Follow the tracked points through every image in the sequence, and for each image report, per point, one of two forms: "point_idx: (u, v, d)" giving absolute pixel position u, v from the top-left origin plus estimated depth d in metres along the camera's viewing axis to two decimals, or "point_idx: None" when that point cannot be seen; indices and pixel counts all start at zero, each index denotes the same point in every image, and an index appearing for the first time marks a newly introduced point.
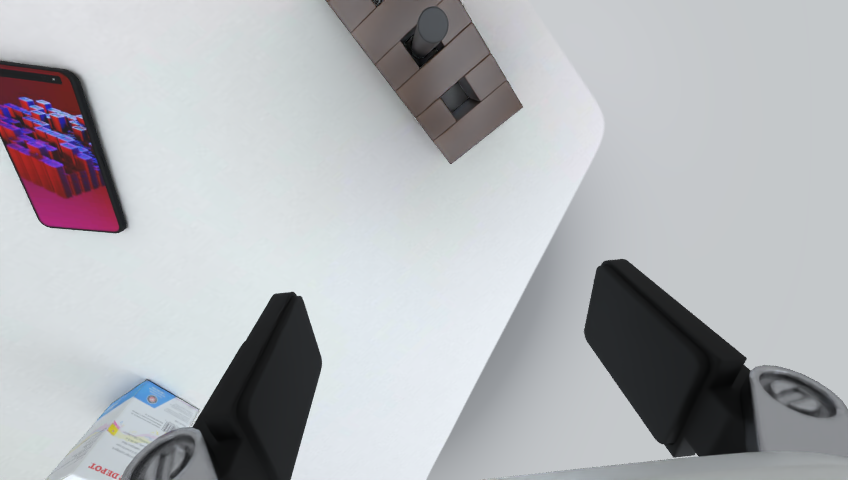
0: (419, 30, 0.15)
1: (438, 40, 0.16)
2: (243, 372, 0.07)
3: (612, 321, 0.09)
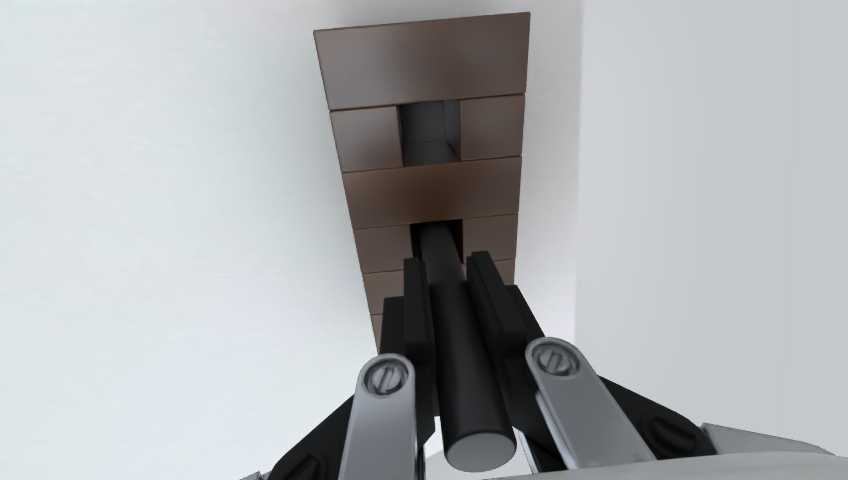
0: (448, 448, 0.06)
1: (472, 471, 0.07)
2: (417, 313, 0.08)
3: None
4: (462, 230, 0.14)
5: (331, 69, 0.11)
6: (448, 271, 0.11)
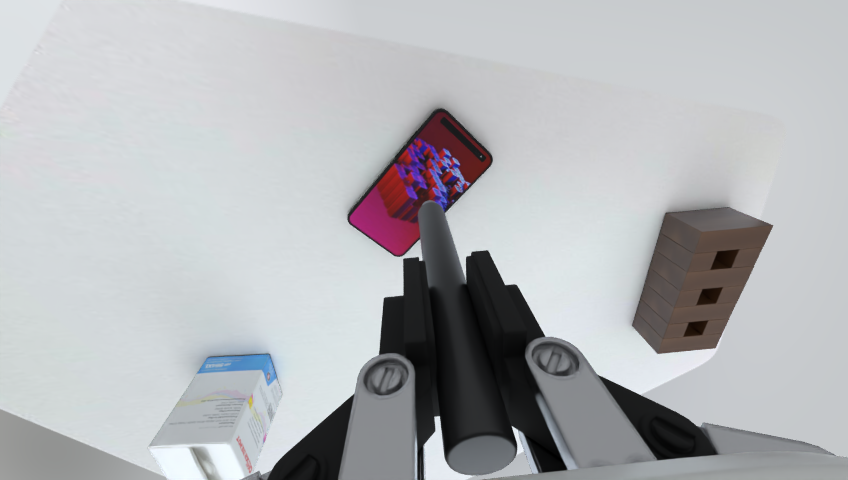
0: (449, 451, 0.06)
1: (473, 474, 0.07)
2: (418, 313, 0.08)
3: None
4: (720, 291, 0.36)
5: (702, 242, 0.32)
6: (449, 274, 0.11)
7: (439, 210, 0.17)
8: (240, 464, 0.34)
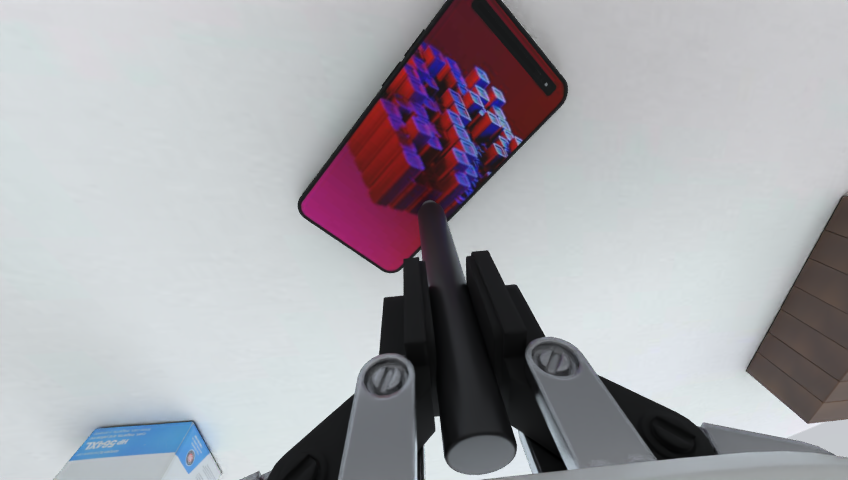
0: (448, 450, 0.06)
1: (472, 473, 0.07)
2: (417, 313, 0.08)
3: None
4: None
5: None
6: (449, 274, 0.11)
7: (439, 210, 0.17)
8: None
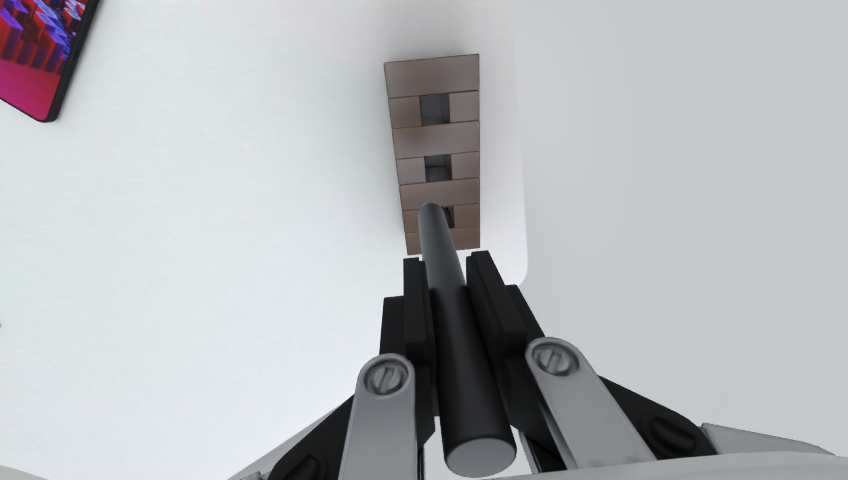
0: (448, 453, 0.06)
1: (472, 476, 0.07)
2: (417, 313, 0.08)
3: (473, 305, 0.10)
4: (451, 160, 0.28)
5: (390, 79, 0.25)
6: (449, 276, 0.11)
7: (439, 211, 0.17)
8: None
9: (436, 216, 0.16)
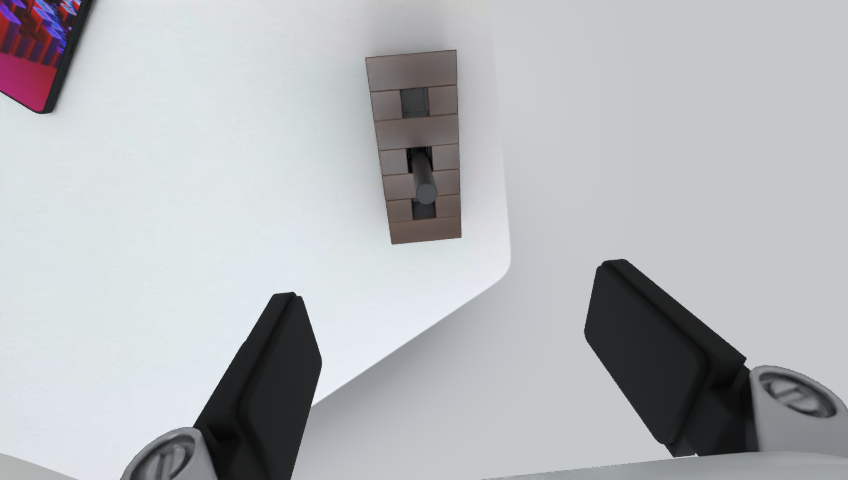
0: (416, 191, 0.21)
1: (424, 203, 0.22)
2: (243, 372, 0.07)
3: (612, 321, 0.09)
4: (432, 152, 0.29)
5: (372, 73, 0.26)
6: (422, 162, 0.26)
7: (422, 148, 0.32)
8: None
9: (420, 149, 0.31)
